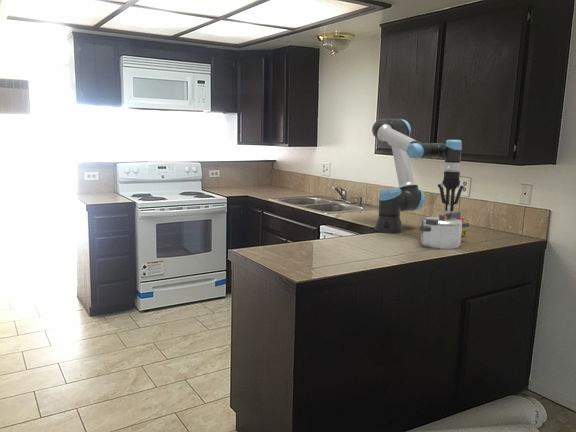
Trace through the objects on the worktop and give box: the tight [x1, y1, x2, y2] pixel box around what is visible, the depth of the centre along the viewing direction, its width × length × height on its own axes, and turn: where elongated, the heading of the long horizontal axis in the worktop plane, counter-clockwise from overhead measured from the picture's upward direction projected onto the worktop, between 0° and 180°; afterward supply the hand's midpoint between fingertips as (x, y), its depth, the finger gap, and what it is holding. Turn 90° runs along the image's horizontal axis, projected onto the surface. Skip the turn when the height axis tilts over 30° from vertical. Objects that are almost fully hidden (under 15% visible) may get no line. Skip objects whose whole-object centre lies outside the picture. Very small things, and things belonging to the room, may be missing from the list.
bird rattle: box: [456, 217, 468, 237], centre depth 264 cm, size 6×11×9 cm
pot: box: [418, 221, 470, 250], centre depth 244 cm, size 18×29×11 cm, turn 117°
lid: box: [421, 211, 462, 225], centre depth 244 cm, size 31×19×3 cm, turn 138°
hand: (448, 217), depth 253 cm, fingers closed
